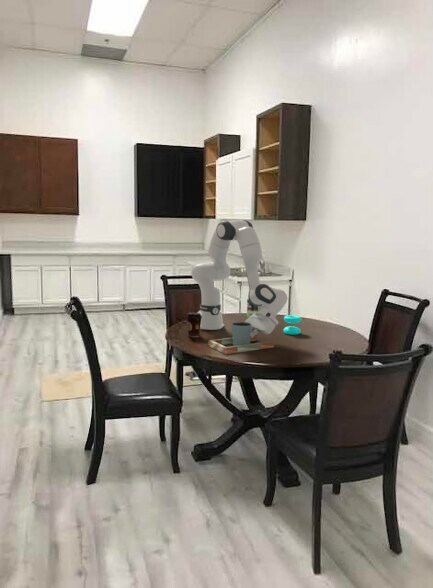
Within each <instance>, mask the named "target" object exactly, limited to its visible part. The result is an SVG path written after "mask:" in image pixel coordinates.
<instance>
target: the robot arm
mask: <svg viewBox="0 0 433 588" xmlns="http://www.w3.org/2000/svg"><path fill="white" fill-rule="evenodd" d="M232 241H236V242H237V243H238V246H239V249H240V255H241V258H242V261H243V264H244V268H245V273H246V278H247V283H248V295H247V296H248V297H247V299H249V301H250V303H251V304H252V305H254V306H262V305H263V307H262V308H261V309H260V310H259V312H258V313H255V314H252V315H251V316H250V317H249V318H248V319H247V318H246V319H245V321H244V322H248V323H251V333H250V335H251V336H250V337H252V338H253V337H254V335H257V334H258V333H261V334H263V335H267V336H268V335H270V334H271V333H272V332H273V331H274V329H276V326H277V325H279V321H278V319H277V315H278V313H280V312H281V311H282V310H283V309H284V307H285V306H286V304H287V303H288V294H287V293H286V292H285V290H283V289H281V288H275V287H272V286H269V285H268V284H265V283H261V281H260V277H259V276H260V275H259V265H260V262H261V260H262V258H263V254H262V247H261V243H260V240H259V236H258V235H257V232H256V229H255V228H254V227H253V224H252V223H251V222H250V221H249V220H245V219H244V220H243V219H233V220H223V221H221V222H218V224H217V226H216V228H215V229H214V232H213V233H212V236H211V239H210V242H209V246H208V249H207V254H208V256H209V257H210V259H211V262H204V263H201V262H200V263H197V264H195V265H194V266H193V267H192V268H191V272H190V274H191V277H192V279H193V281H195V282H196V283H197V284H198V286H199V289H200V292H201V293H200V294H201V303H200V304H199V311H197V313H200V314H201V316H202V318H201V325H200V330H205V331H206V330H208V331H209V330H210V331H211V330H213V331H214V330H215V331H216V330H221V329H222V328H223V327H225V324H224V323H223V322H224V321H223V313H222V312H221V309H222V306H221V291H220V290H219V289H218V288H217V287H215V285H214V282H218V281H219V282H220V281H224V280H227V279H228V278H229V277H230V275H231V267H230V265H229V264H228V263H227V254H228V252H229V247H230V244H231V242H232Z"/></svg>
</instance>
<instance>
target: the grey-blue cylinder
mask: <svg viewBox="0 0 433 588" xmlns="http://www.w3.org/2000/svg"><path fill="white" fill-rule="evenodd" d="M231 333H232V337H233V344H232V346H238V345H245V344H251V341H250V336H251V335H250V333H251V323H248V322H245V321H236V322H235V321H234V322H232V323H231Z"/></svg>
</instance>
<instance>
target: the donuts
mask: <svg viewBox="0 0 433 588" xmlns="http://www.w3.org/2000/svg"><path fill="white" fill-rule="evenodd" d="M283 320H284V322H285V323H288V324H299V323H300V322H302V317H301V316H299V315H295V314H287V315H284V317H283ZM301 330H302V329H301V328H300V327H298V326H294V325H293V326H290V325H289V326H285V327H284V328H283V334H286V335H289V336H290V335H291V336H297V335H300V334H301V332H302V331H301Z"/></svg>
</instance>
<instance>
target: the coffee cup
mask: <svg viewBox="0 0 433 588" xmlns="http://www.w3.org/2000/svg"><path fill="white" fill-rule="evenodd" d="M185 317H186V319H187V320H186V325H187V333H188V334H187V335H188V337H190V338H200V336H201V335H200V333H201V329H200V325H201V318H202V316H201V314H200V313H198V312H193V311H192V312H188V313H187V314H186V316H185Z"/></svg>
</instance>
